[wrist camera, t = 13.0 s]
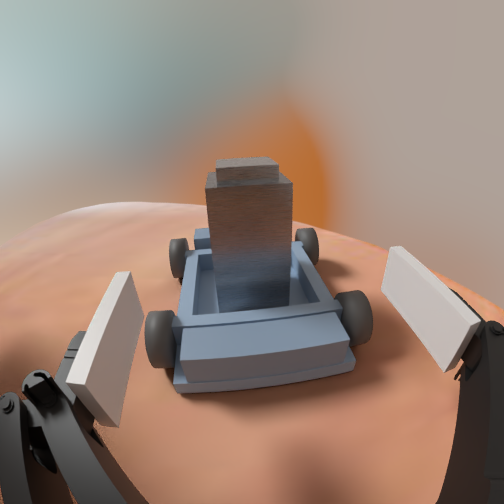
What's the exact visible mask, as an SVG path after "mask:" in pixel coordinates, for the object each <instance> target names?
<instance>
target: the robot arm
mask: <svg viewBox="0 0 504 504" xmlns="http://www.w3.org/2000/svg"><path fill="white" fill-rule="evenodd" d="M381 291H382V292H383V293H384V295H385V296H386V297H387V298H388V300H389V301H390V302H391V303H392V304H393V306H394V307H395V308H396V309H397V311H398V312H399V313H400V314H401V316H402V317H403V318H404V320H405V321H406V322H407V323H408V325H409V326H410V327H411V329H412V330H413V331H414V332H415V334H416V335H417V336H418V338H419V339H420V340H421V342H422V343H423V344H424V346H425V347H426V349H427V350H428V351H429V353H430V354H431V355H432V357H433V358H434V360H435V361H436V362H437V364H438V365H439V367H440V368H441V369H442V371H443V372H444V373H445V372H447V371H449V370H451V369H453V368H455V367H456V365H457V363H458V362H459V360H460V359H462V360H463V361H464V363H463V364H462V366H461V367H460V369H459V371H458V372H457V374H456V375H455V377H454V380H456V379H457V377H458V376H459V374H461V377H460V379H459V380H458V381H460V394H459V405H458V414H457V421H456V428H455V434H454V440H453V445H452V450H451V455H450V460H449V464H448V468H447V472H446V476H445V479H444V483H443V486H442V489H441V493H440V496H439V498H438V501H437V502H436V504H504V327H503V326H502V325H501V324H500V323H498V322H496V321H488V322H485V320H484V319H483V318H482V317H481V316H480V315H479V314H478V313H477V312H476V311H475V310H474V309H473V308H472V307H471V306H470V305H468V303H467V302H466V301H465V300H463V298H462V297H461V296H460V295H459V294H458V293H457V292H455V291H453V290H452V289H450V288H448V287H447V286H446V285H445V284H444V283H443V282H442V281H441V280H439V279H438V278H437V277H436V276H435V275H434V274H433V273H432V272H431V271H430V270H428V269H427V268H426V267H425V266H424V265H423V264H422V263H420V262H419V261H418V260H417V259H416V258H415V257H414V256H412V255H411V254H410V253H409V252H408V251H406V250H405V249H404V248H403V247H402V246H395V247H390V250H389V255H388V260H387V265H386V269H385V274H384V278H383V282H382V287H381ZM143 319H144V314H143V311H142V308H141V305H140V301H139V298H138V295H137V292H136V288H135V285H134V282H133V278H132V275H131V271H127V272H116V274H115V276H114V278H113V279H112V281H111V283H110V285H109V287H108V289H107V291H106V293H105V295H104V297H103V299H102V301H101V303H100V305H99V307H98V309H97V311H96V313H95V315H94V317H93V319H92V321H91V323H90V325H89V327H88V330H87V331H79V332H78V333H77V334H76V335H75V337H74V338H73V339H72V340H71V342H70V344H69V346H68V348H67V349H68V350H67V351H66V353H65V355H64V358H63V360H62V362H61V364H60V366H59V369H58V371H57V373H56V376H55V378H54V379H53V378H52V377H51V375H50V374H49V373H48V372H47V371H45V370H35V371H33V372H31V373H30V374H28V375H27V377H26V378H25V379H24V381H23V384H22V393H23V394H24V395H25V396H26V397H27V398H28V399H27V400H21V399H20V398H19V397H18V396H17V394H15V393H13V392H7V393H5V394H3V395H2V396H1V397H0V486H1V492H2V497H3V502H4V504H73V502H72V499H71V496H70V492H69V489H70V490H71V492H72V494H73V496H74V497H75V499H76V501H77V502H78V504H149V503H148V502H147V501H146V500H145V498H144V497H143V496H142V495H141V494H140V492H139V491H138V490H137V489H136V487H135V486H134V485H133V484H132V482H131V481H130V480H129V478H128V477H127V476H126V474H125V473H124V472H123V470H122V469H121V468H120V466H119V465H118V463H117V462H116V460H115V459H114V457H113V456H112V454H111V453H110V451H109V450H108V448H107V447H106V445H105V444H104V442H103V440H102V439H101V437H100V435H99V434H98V432H97V430H96V429H95V428H94V427H93V423H94V419H96V420H97V421H98V422H99V424H100V425H101V426H108V427H117V428H119V424H120V418H121V413H122V407H123V402H124V397H125V392H126V388H127V383H128V379H129V374H130V370H131V366H132V361H133V357H134V353H135V349H136V345H137V341H138V338H139V334H140V330H141V326H142V323H143ZM67 485H68V486H67ZM68 487H69V489H68Z"/></svg>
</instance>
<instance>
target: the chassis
mask: <svg viewBox="0 0 504 504" xmlns="http://www.w3.org/2000/svg"><path fill="white" fill-rule="evenodd" d="M194 244H195V250H189V247H188V242H187V239H186V238H182V239H172V240H171V241H170V246H169V258H170V266H171V271H172V274H173V277H174V278H181V277H183V282H182V288H181V294H180V300H179V306H178V313H177V316H175V314H174V312H173V311H172V310H167V311H151V312H149V313H148V315H147V318H146V322H145V345H146V351H147V355H148V358H149V361H150V363H151V365H152V366H153V367H154V368H175V370H174V380H173V385H174V387H175V389H176V392H177V393H200V392H218V391H231V390H242V389H252V388H260V387H268V386H275V385H282V384H289V383H295V382H301V381H306V380H312V379H317V378H322V377H327V376H331V375H336V374H340V373H344V372H349V371H353V369H354V366H355V363H356V359H355V357H354V355H353V353H352V351H351V349H350V347H351V346H355V345H360V344H364V343H367V342H368V341H369V339H370V337H371V334H372V329H373V316H372V310H371V306H370V303H369V301H368V299H367V297H366V296H365V294H364V293H363V292H361V291H359V290H356V291H349V292H343V293H338V294H337V295H336V296H335V298H334V299H333V297H332V295H331V294H330V292H329V290H328V289H327V287H326V285H325V284H324V282H323V280H322V279H321V277H320V275H319V274H318V272H317V270H316V269H315V267H314V265H316V264H317V262H318V258H319V244H318V238H317V235H316V232H315V230H314V229H313V228H303V229H297V231H296V235H295V242H292V247H291V275H290V298H289V306H285V307H276V308H268V309H258V310H249V311H239V312H228V313H219V307H218V299H217V292H216V284H215V276H214V268H213V260H212V251H211V242H210V233H209V228H202V229H196V230H195V235H194Z"/></svg>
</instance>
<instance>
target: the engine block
mask: <svg viewBox="0 0 504 504" xmlns="http://www.w3.org/2000/svg"><path fill="white" fill-rule="evenodd" d="M292 187H293V183H292V182H291V181H290V180H289V179H287V178H286V177H285V176H284V175H283V174H282V173H280V172H279V164H277V163H276V162H274V161H273V160H272V159H270V158H269V157H251V158H234V159H221V160H216V172H210V173H208V177H207V182H206V187H205V193H206V203H207V214H208V224H209V233H210V242H211V251H212V260H213V268H214V276H215V284H216V292H217V299H218V307H219V313H228V312H239V311H249V310H258V309H268V308H276V307H285V306H289V298H290V275H291V247H292V198H293V194H292V193H293V188H292Z"/></svg>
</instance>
